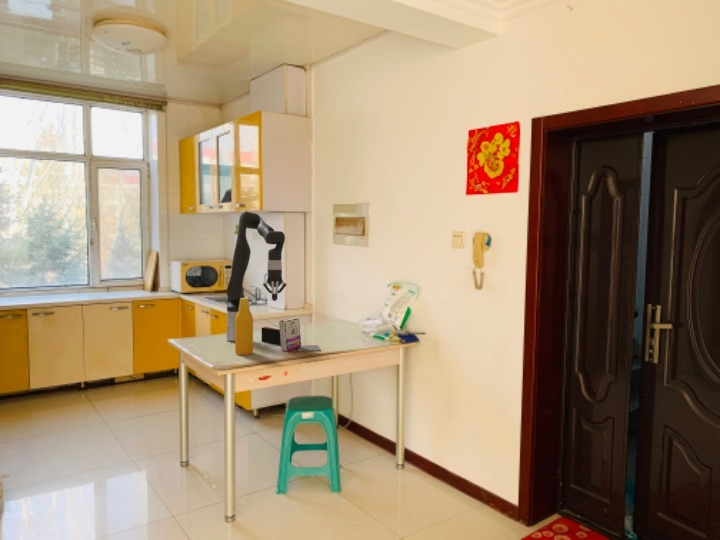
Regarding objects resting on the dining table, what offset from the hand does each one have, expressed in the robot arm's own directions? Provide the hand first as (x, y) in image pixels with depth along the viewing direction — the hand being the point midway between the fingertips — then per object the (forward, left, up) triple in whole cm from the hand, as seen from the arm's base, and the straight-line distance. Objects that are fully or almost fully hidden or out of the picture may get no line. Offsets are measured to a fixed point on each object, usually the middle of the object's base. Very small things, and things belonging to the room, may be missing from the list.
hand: (274, 300), depth 282 cm
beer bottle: (-16, -5, -27) cm, 32 cm away
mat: (+18, 0, -27) cm, 33 cm away
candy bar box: (+9, 0, -27) cm, 28 cm away
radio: (0, +17, -27) cm, 32 cm away
